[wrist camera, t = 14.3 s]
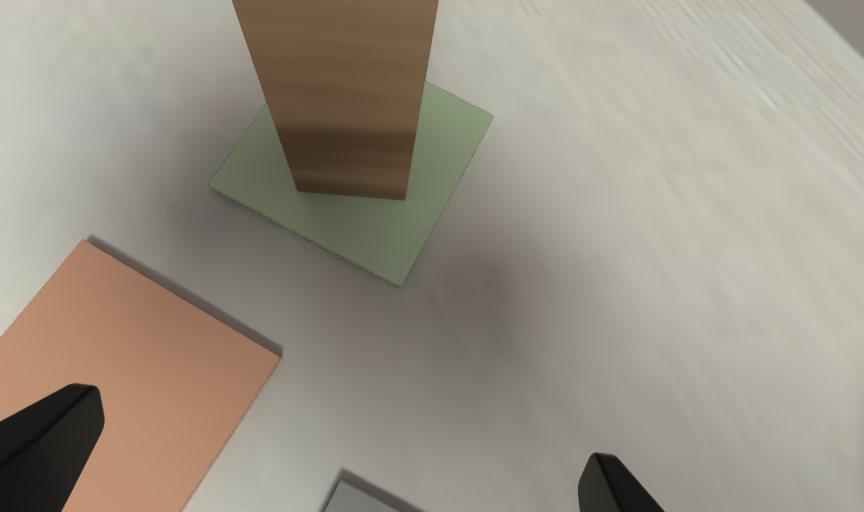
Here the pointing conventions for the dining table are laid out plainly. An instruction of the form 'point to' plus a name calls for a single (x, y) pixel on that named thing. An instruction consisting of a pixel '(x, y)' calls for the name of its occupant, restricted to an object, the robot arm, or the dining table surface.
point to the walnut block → (343, 87)
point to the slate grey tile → (356, 500)
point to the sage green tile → (361, 216)
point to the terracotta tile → (133, 379)
